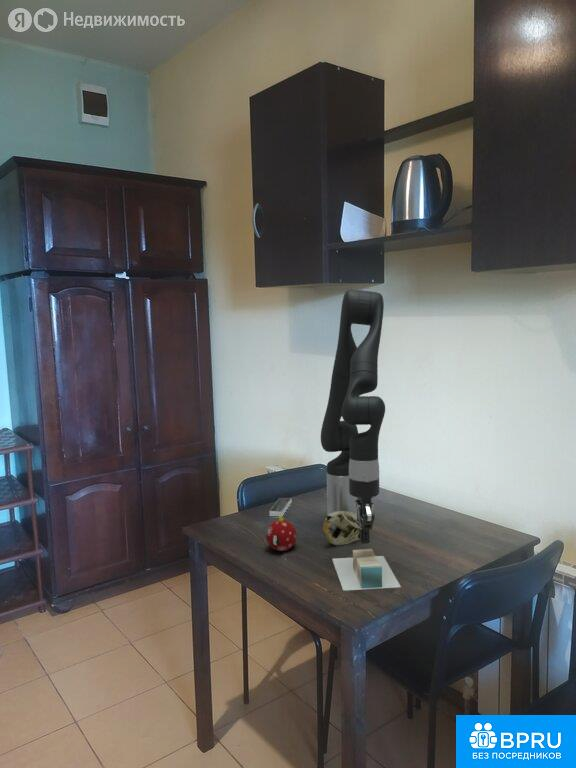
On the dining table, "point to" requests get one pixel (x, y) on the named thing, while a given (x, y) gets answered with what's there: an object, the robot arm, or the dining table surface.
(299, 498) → the dining table surface
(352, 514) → the skull
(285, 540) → the christmas ornament
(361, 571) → the tall block
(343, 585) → the mat
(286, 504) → the multiport hub
